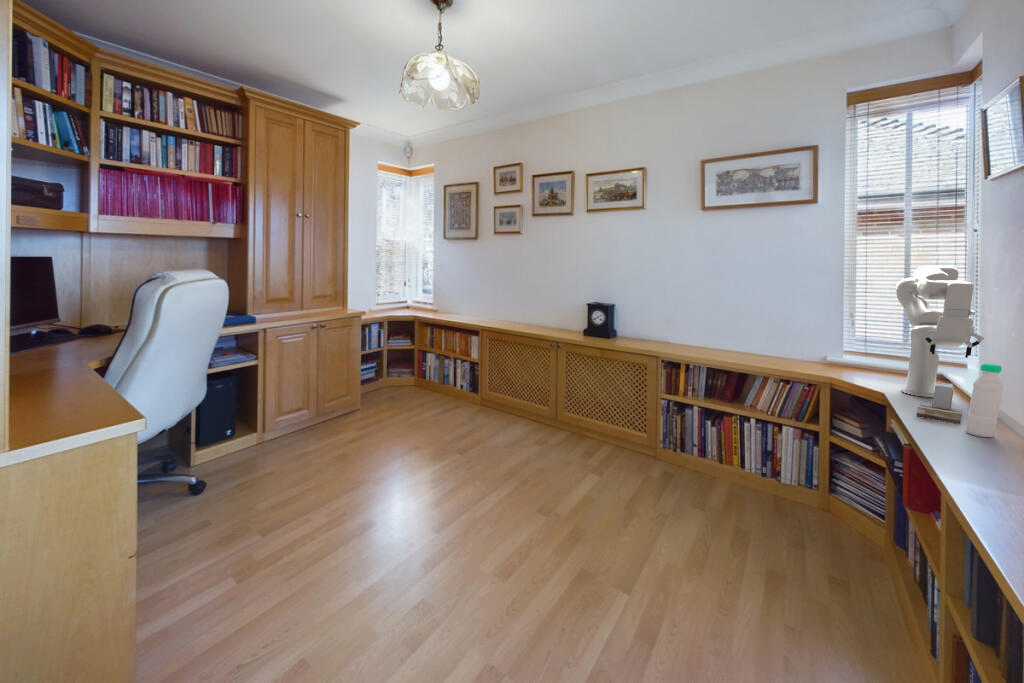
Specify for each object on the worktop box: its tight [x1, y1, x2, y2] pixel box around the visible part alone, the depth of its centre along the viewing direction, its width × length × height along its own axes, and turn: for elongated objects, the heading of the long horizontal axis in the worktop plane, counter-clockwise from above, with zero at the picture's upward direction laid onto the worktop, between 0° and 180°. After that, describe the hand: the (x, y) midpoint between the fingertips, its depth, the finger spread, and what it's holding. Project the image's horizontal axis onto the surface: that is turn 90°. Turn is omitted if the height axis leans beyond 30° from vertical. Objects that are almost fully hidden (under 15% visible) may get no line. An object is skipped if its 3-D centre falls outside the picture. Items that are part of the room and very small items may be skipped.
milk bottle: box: [965, 363, 1004, 438], centre depth 151 cm, size 7×7×25 cm
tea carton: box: [931, 381, 955, 410], centre depth 180 cm, size 5×7×10 cm
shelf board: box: [916, 404, 963, 425], centre depth 171 cm, size 14×12×4 cm
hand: (949, 355), depth 177 cm, fingers open, 9 cm apart
